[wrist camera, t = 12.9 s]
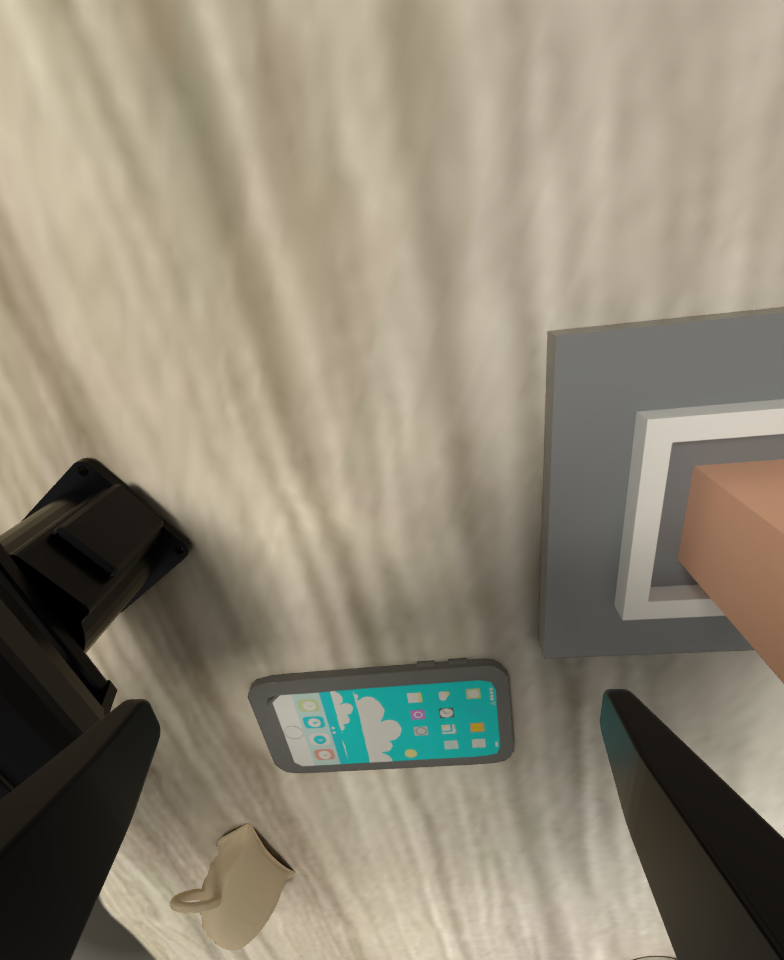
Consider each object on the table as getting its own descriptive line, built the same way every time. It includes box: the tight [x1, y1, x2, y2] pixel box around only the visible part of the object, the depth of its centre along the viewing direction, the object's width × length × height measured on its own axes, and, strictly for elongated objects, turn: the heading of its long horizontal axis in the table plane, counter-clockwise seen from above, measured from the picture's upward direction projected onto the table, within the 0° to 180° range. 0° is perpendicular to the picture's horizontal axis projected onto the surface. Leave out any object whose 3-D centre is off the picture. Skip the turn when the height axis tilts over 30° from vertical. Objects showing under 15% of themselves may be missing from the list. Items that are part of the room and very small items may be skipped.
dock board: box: [538, 307, 784, 658], centre depth 20 cm, size 16×16×2 cm
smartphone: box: [248, 658, 514, 773], centre depth 28 cm, size 9×1×15 cm
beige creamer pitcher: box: [170, 823, 295, 950], centre depth 33 cm, size 4×8×5 cm, turn 23°
